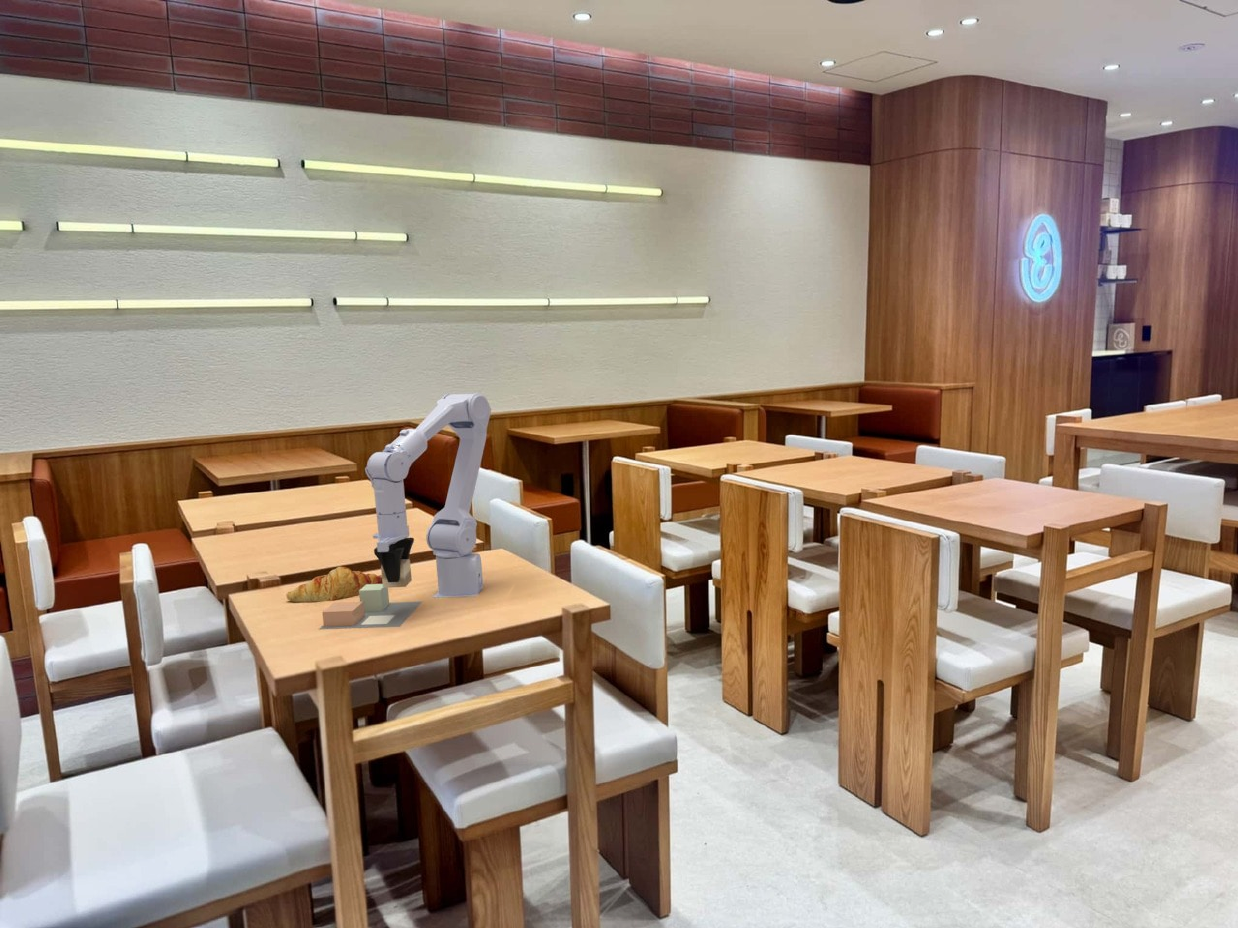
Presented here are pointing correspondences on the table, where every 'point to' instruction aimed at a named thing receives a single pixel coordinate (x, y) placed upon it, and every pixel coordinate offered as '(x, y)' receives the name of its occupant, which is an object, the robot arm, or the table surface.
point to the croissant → (333, 586)
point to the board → (384, 616)
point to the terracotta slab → (343, 614)
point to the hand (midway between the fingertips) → (397, 578)
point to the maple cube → (404, 575)
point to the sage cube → (374, 597)
